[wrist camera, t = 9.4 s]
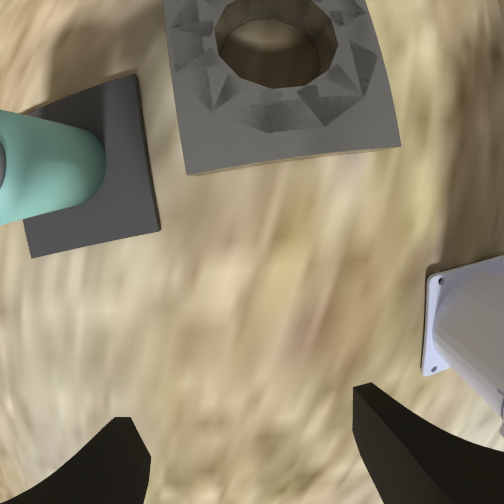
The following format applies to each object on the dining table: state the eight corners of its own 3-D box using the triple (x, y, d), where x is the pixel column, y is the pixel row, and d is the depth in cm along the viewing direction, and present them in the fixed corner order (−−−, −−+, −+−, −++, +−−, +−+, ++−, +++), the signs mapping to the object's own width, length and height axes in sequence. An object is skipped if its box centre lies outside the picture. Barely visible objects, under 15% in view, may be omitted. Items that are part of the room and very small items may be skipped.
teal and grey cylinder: (102, 120, 15) (19, 91, 8) (110, 199, 16) (27, 219, 9) (39, 139, 15) (-53, 130, 8) (47, 211, 16) (-45, 237, 9)
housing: (330, -21, 14) (345, -50, 11) (372, 151, 17) (401, 146, 14) (171, -6, 14) (159, -36, 11) (196, 176, 17) (186, 175, 13)
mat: (137, 76, 15) (134, 74, 15) (161, 229, 17) (158, 231, 17) (16, 123, 15) (11, 122, 15) (36, 256, 17) (31, 258, 17)
